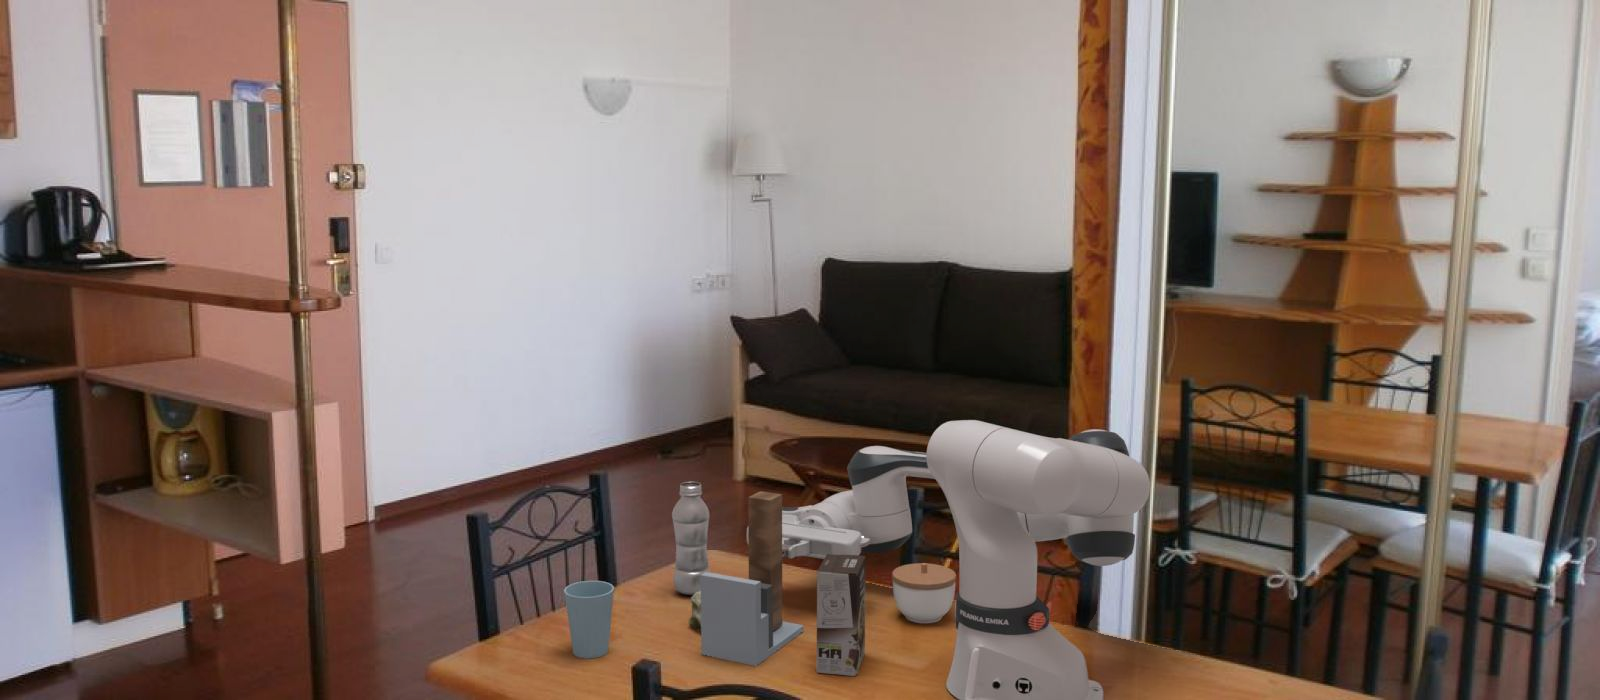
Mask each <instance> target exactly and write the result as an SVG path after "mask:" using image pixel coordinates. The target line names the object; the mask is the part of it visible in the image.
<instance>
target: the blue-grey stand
mask: <svg viewBox="0 0 1600 700" xmlns="http://www.w3.org/2000/svg"><path fill="white" fill-rule="evenodd" d="M700 577H701V631H700V634H701V635H700V636H701V637H700V639H701V640H700V641H701V649H700V650H701V651H700V652H701V653H700V654H701V655H702V654H703V656H705V655H707V657H710V656H712V657H711V658H715V657H716V659H721V660H724V659H725V660H726V661H729V662H735V663H740V664H744V665H749V666H754V667H757V666H758V664H759V665H760V664H761V663H763V662H764V661H765V660H766V659H768V658H770V657H771V656H772V655H773V654H775V653H776V652H777V650H778V651H779V650H780V649H782V648H783V647H784V646H786V645H787V644H789V643H790V642H791V641H793V640H794V639H795V638H797V637H798V636H800V635H801V634H802V633H803V632H804V631H805V629H804V628H805V626H804V625H803V624H798V623H793V622H788V621H783V620H782V625H781V626H780V627H778V628H777V629H776V630H774V631H773V585H769V584H764V583H761V582H760V581H755V580H749V578H743V577H737V576H732V575H724V574H720V573H714V572H710V573H709V572H705V573H703V574H701V575H700ZM801 632H802V633H801ZM800 633H801V634H800ZM793 638H794V639H793ZM781 647H782V648H781ZM725 660H724V661H725ZM762 661H763V662H762Z"/></svg>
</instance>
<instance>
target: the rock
mask: <svg viewBox="0 0 1600 700" xmlns="http://www.w3.org/2000/svg"><path fill="white" fill-rule="evenodd" d="M690 600H691V611H692V612H691V616H690V619H688V624H689V625H690V626H691V627H692V628H693V629H696V630H697V629H699V630H698V631H700V630H701V590H700V592H696V593H695V594H694V595H691V597H690Z"/></svg>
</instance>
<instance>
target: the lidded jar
mask: <svg viewBox="0 0 1600 700" xmlns="http://www.w3.org/2000/svg"><path fill="white" fill-rule="evenodd" d="M891 577H892V594H893V596H894V597H893V598H894V602H895V604H896V606H897V608H898V610H899V611H900V612H901V613H902V614H903V615H904V616H905V619H906V620H908V621H909V622H912V623H917V624H922V625H924V624H926V625H927V624H934V623H938V622H940V621H941V620H942V618H943V616H945V615H946V614H947V613H948V612H949V611H950V609H951V608H952V605H953V602H954V598H955V593H956V581H957V574H956V572H955V570H953V569H951V568H949V567H947V566H944V565H940V564H937V563H927V562H922V563H919V562H918V563H908V564H903V565H899V566H898V567H896V568H895V569H894V570H893V571H892V573H891Z"/></svg>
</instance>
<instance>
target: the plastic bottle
mask: <svg viewBox="0 0 1600 700" xmlns="http://www.w3.org/2000/svg"><path fill="white" fill-rule="evenodd" d="M702 495H703V491H702V483H701V482H697V481H685V482H682V483H680V486H679V496H680V498H679V499H678V501H677V502H676V503H675V505H674V507H673V508H672V509H673V510H672V512H671V517H672V524H673V529H674V536H675V537H674V538H675V547H676V550H675V551H676V552H675V567H674V571H673V581H672V582H673V584H674V589H675V590H676V592H678V593H679V594H680V595H686V596H693V595H694V594H695V593H696V592H700V590H701V577H700V575H701V574H703V573H705V572H709V573H711V570H710V566H709V558H708V544H707V543H708V529H709V524H710V523H709V521H710V510H709V508H708V506H707V504H706V503H705V501H704V500H703V498H701V496H702Z"/></svg>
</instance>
